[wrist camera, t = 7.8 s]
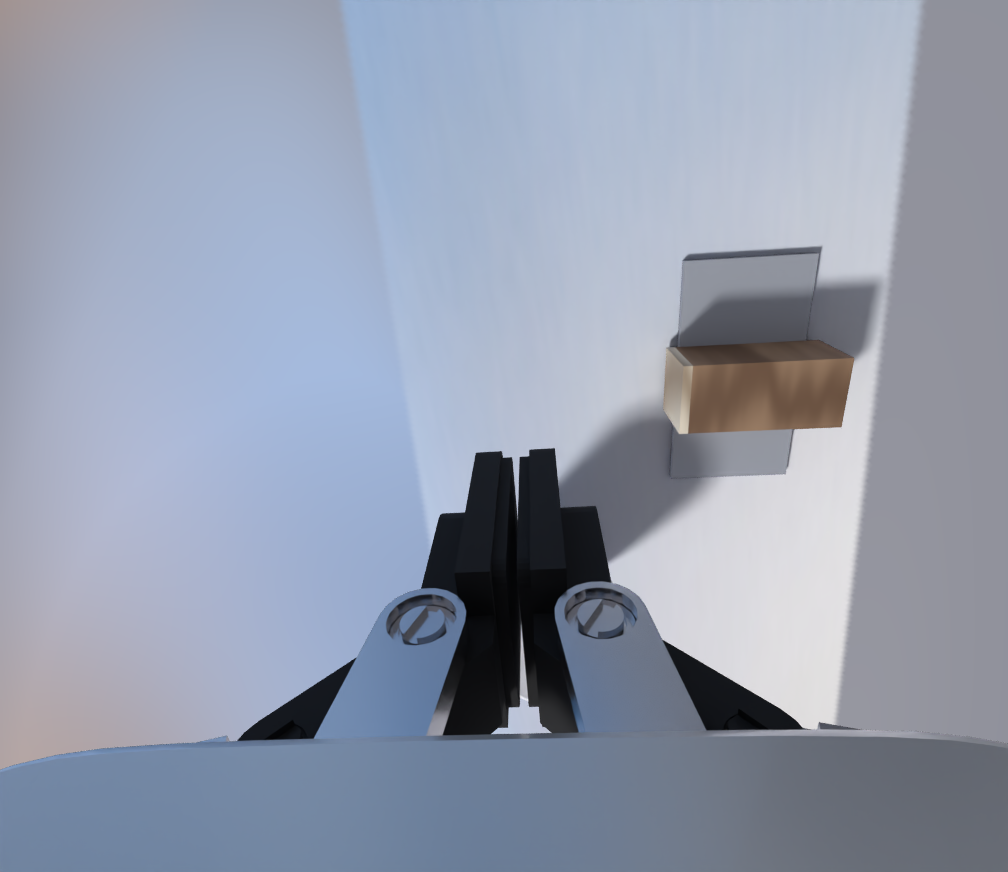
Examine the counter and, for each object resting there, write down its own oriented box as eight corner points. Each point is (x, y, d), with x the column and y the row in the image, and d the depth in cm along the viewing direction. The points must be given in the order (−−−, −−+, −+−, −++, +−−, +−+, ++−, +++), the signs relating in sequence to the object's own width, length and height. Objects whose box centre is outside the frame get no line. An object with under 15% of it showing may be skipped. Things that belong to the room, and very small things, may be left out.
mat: (682, 260, 33) (684, 261, 32) (815, 252, 32) (819, 253, 32) (669, 475, 38) (670, 478, 38) (783, 471, 38) (785, 474, 38)
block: (683, 366, 31) (854, 357, 30) (666, 347, 34) (818, 339, 34) (679, 434, 32) (841, 427, 32) (663, 409, 36) (808, 402, 36)
